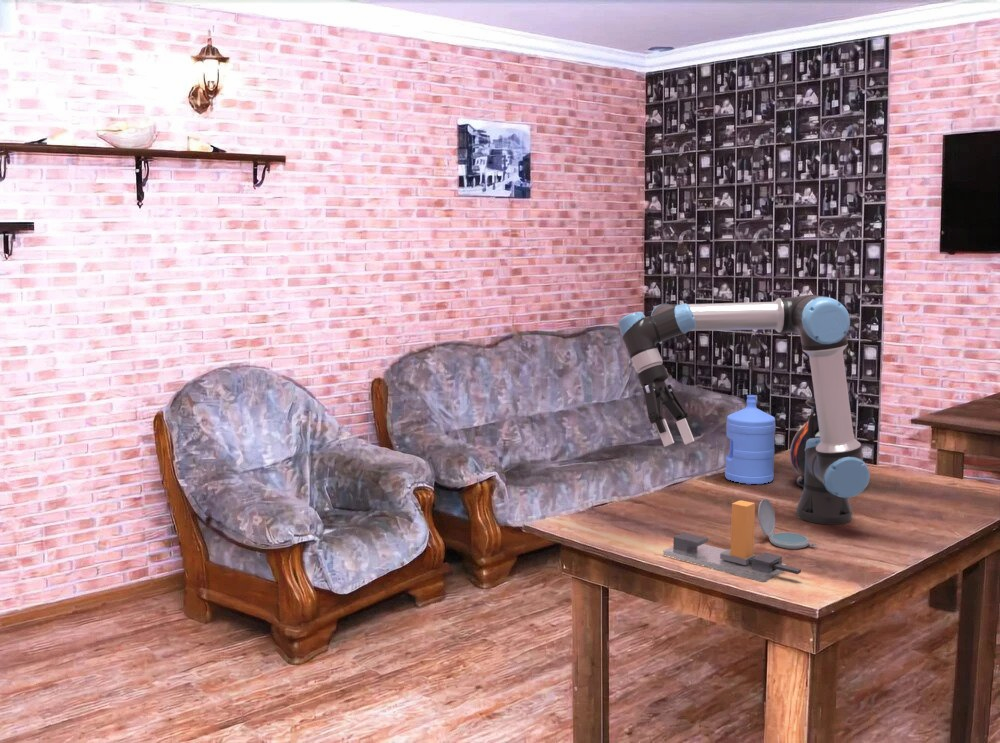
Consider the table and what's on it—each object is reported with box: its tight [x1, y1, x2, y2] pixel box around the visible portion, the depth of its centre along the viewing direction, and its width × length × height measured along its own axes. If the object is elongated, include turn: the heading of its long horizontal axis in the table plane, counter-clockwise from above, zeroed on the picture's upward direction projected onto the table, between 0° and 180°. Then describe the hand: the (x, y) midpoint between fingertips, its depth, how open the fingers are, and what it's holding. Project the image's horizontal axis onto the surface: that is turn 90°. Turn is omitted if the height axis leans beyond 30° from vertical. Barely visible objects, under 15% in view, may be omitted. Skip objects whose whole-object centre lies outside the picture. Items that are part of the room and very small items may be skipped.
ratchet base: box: [662, 532, 787, 583], centre depth 245 cm, size 28×11×4 cm, turn 47°
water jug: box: [724, 394, 777, 485], centre depth 325 cm, size 16×16×28 cm
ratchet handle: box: [720, 499, 802, 575], centre depth 237 cm, size 20×5×14 cm, turn 47°
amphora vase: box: [789, 397, 858, 489], centre depth 315 cm, size 22×22×28 cm
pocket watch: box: [757, 498, 818, 550], centre depth 260 cm, size 10×11×15 cm
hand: (679, 443), depth 257 cm, fingers open, 13 cm apart
